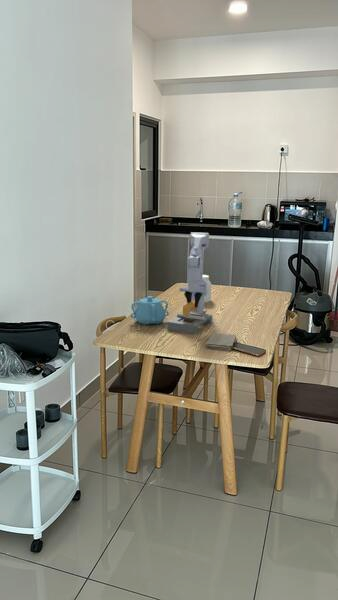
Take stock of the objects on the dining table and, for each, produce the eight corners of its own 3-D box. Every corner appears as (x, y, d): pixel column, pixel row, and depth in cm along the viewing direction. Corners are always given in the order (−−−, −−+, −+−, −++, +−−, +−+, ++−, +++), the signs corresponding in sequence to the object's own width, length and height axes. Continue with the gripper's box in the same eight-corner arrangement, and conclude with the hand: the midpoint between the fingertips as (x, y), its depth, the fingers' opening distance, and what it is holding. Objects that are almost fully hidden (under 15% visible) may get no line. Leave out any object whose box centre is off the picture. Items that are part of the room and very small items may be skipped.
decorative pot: (134, 329, 234) (134, 302, 231) (127, 317, 252) (127, 293, 249) (173, 326, 239) (174, 300, 236) (163, 315, 257) (163, 291, 254)
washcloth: (205, 349, 209) (205, 343, 208) (211, 336, 226) (211, 330, 225) (232, 352, 206) (232, 345, 205) (236, 339, 223) (236, 332, 222)
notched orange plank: (188, 316, 233) (188, 306, 231) (182, 315, 234) (182, 306, 233) (197, 310, 243) (198, 301, 242) (192, 309, 244) (192, 300, 243)
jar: (190, 301, 288) (190, 276, 285) (194, 297, 297) (195, 273, 293) (208, 302, 285) (209, 278, 281) (212, 299, 294) (213, 275, 290)
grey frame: (167, 329, 234) (167, 318, 233) (185, 318, 253) (185, 308, 252) (195, 334, 228) (195, 323, 226) (211, 322, 247) (212, 311, 245)
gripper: (177, 280, 237) (176, 306, 240) (204, 283, 231) (203, 310, 234) (183, 277, 243) (182, 303, 246) (209, 280, 237) (208, 307, 240)
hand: (192, 306), depth 241 cm, fingers closed on notched orange plank, 3 cm apart
